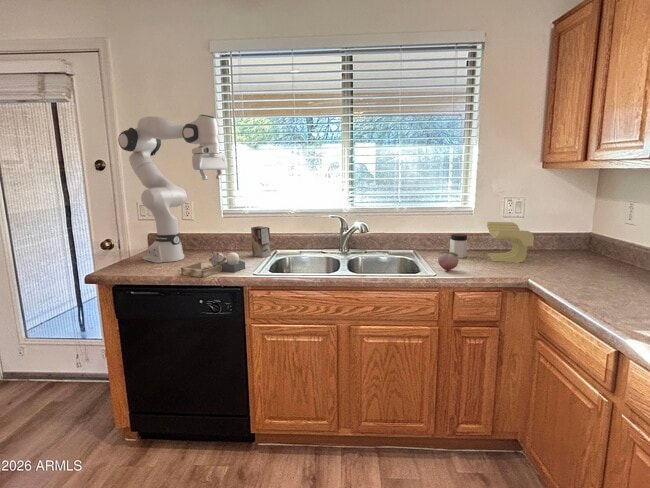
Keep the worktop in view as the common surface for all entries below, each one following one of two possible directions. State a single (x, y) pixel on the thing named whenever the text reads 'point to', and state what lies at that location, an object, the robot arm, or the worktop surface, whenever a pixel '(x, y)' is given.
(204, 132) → the robot arm
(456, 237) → the jar
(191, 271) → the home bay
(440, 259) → the decorative fruit
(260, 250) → the coffee box
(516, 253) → the olive c-shaped block
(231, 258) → the cream ball
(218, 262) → the grey spiky ball
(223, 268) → the base
